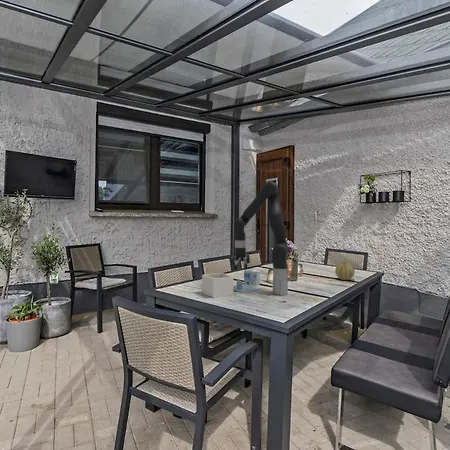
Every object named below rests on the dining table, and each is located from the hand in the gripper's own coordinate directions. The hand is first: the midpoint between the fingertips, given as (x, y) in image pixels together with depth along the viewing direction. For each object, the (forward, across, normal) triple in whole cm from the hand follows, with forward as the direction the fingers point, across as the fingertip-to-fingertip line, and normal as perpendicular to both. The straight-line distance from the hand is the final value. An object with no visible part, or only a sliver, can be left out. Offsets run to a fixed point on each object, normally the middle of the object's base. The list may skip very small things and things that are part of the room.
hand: (240, 270), depth 234 cm
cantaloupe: (+15, +94, -13) cm, 96 cm away
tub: (+14, -20, -2) cm, 24 cm away
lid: (+14, +4, +1) cm, 15 cm away
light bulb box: (+14, +17, +10) cm, 24 cm away
